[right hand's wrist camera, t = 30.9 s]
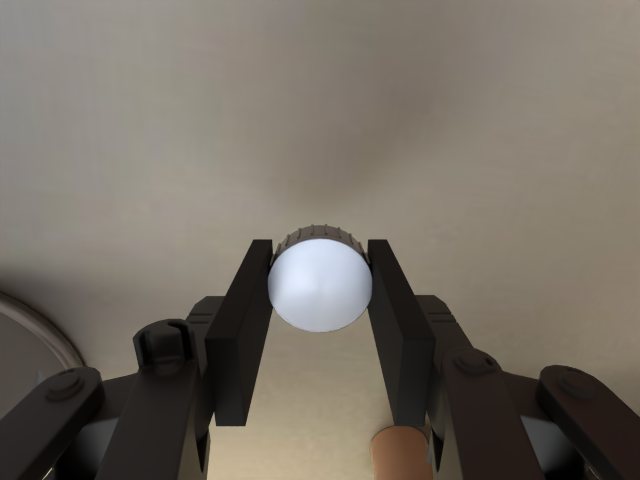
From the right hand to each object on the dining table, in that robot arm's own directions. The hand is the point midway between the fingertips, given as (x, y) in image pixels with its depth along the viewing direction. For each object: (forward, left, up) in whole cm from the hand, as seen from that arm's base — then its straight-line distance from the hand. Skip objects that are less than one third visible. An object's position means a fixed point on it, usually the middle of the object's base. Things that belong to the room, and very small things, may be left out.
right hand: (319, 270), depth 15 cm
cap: (0, 0, +1) cm, 1 cm away
